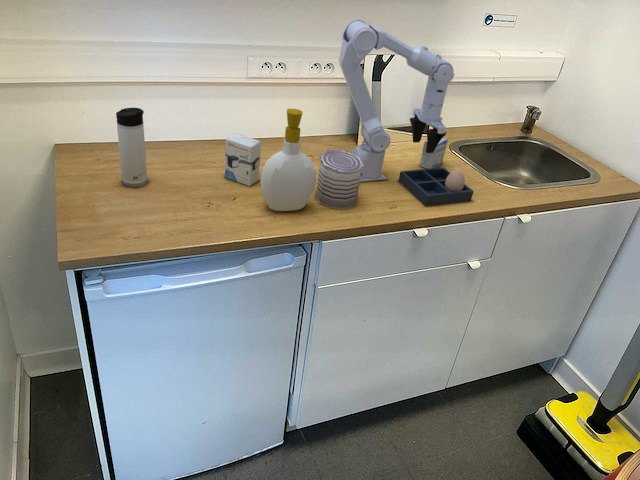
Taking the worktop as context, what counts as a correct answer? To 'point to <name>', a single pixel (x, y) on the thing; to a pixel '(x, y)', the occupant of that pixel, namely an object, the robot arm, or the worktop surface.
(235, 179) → the ink box
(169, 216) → the worktop surface
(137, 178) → the travel mug
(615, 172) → the worktop surface
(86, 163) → the worktop surface
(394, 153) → the worktop surface
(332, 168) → the can
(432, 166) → the medicine box
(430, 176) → the divided tray
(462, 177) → the egg
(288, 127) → the soap bottle
